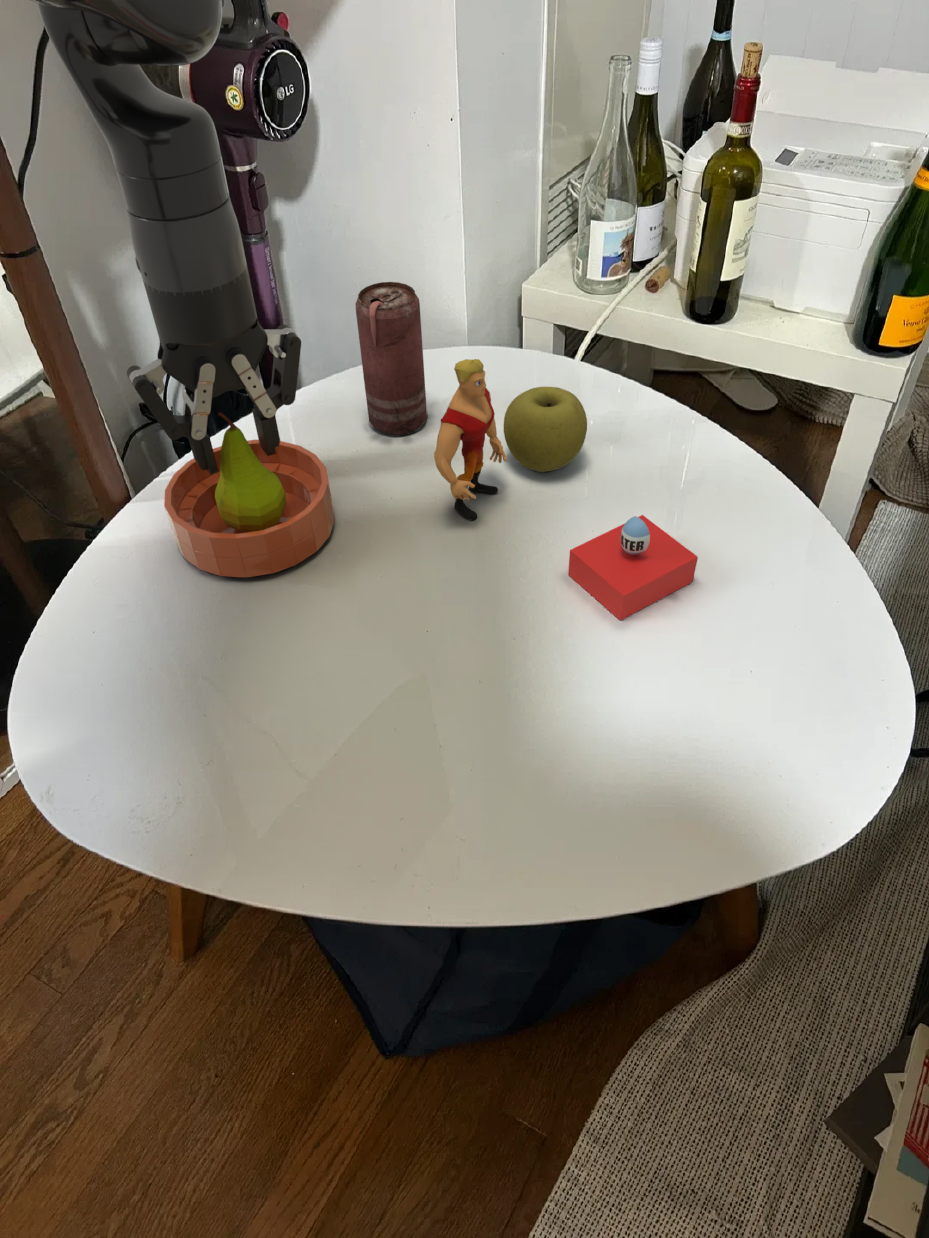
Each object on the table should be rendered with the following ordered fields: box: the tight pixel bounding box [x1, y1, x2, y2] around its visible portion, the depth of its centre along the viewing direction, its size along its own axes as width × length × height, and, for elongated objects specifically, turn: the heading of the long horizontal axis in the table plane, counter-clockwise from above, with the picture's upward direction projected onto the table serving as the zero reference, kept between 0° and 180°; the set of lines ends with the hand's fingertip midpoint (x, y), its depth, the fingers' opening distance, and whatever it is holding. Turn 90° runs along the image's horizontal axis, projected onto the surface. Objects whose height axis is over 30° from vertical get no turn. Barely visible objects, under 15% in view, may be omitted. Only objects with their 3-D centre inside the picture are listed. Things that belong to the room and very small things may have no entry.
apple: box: [503, 386, 588, 473], centre depth 88 cm, size 8×8×7 cm
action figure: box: [433, 358, 508, 521], centre depth 81 cm, size 10×4×15 cm, turn 152°
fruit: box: [215, 411, 286, 532], centre depth 80 cm, size 6×6×12 cm
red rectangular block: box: [567, 514, 699, 621], centre depth 76 cm, size 8×7×6 cm
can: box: [354, 281, 428, 437], centre depth 91 cm, size 6×6×14 cm
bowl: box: [163, 439, 336, 578], centre depth 83 cm, size 14×14×5 cm
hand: (240, 458), depth 79 cm, fingers open, 4 cm apart
